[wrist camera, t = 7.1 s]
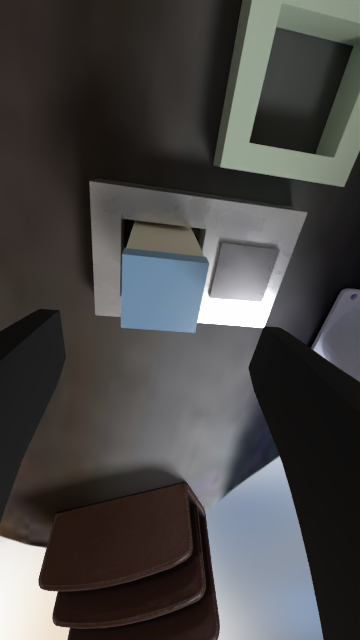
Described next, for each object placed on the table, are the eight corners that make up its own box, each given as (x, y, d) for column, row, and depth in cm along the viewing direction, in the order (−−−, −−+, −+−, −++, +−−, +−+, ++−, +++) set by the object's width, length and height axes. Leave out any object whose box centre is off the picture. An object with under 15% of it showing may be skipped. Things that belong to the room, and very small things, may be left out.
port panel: (292, 206, 16) (310, 213, 14) (255, 313, 21) (265, 329, 19) (97, 177, 15) (88, 181, 13) (100, 300, 19) (94, 317, 17)
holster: (389, 15, 12) (426, -7, 10) (324, 183, 16) (343, 186, 14) (246, -24, 11) (262, -55, 9) (212, 165, 15) (220, 167, 13)
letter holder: (205, 508, 40) (225, 655, 28) (89, 534, 42) (63, 681, 31) (186, 479, 35) (201, 647, 23) (55, 510, 37) (7, 678, 25)
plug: (190, 223, 16) (209, 263, 11) (182, 274, 18) (194, 332, 12) (135, 216, 16) (122, 254, 10) (133, 269, 18) (121, 327, 12)
